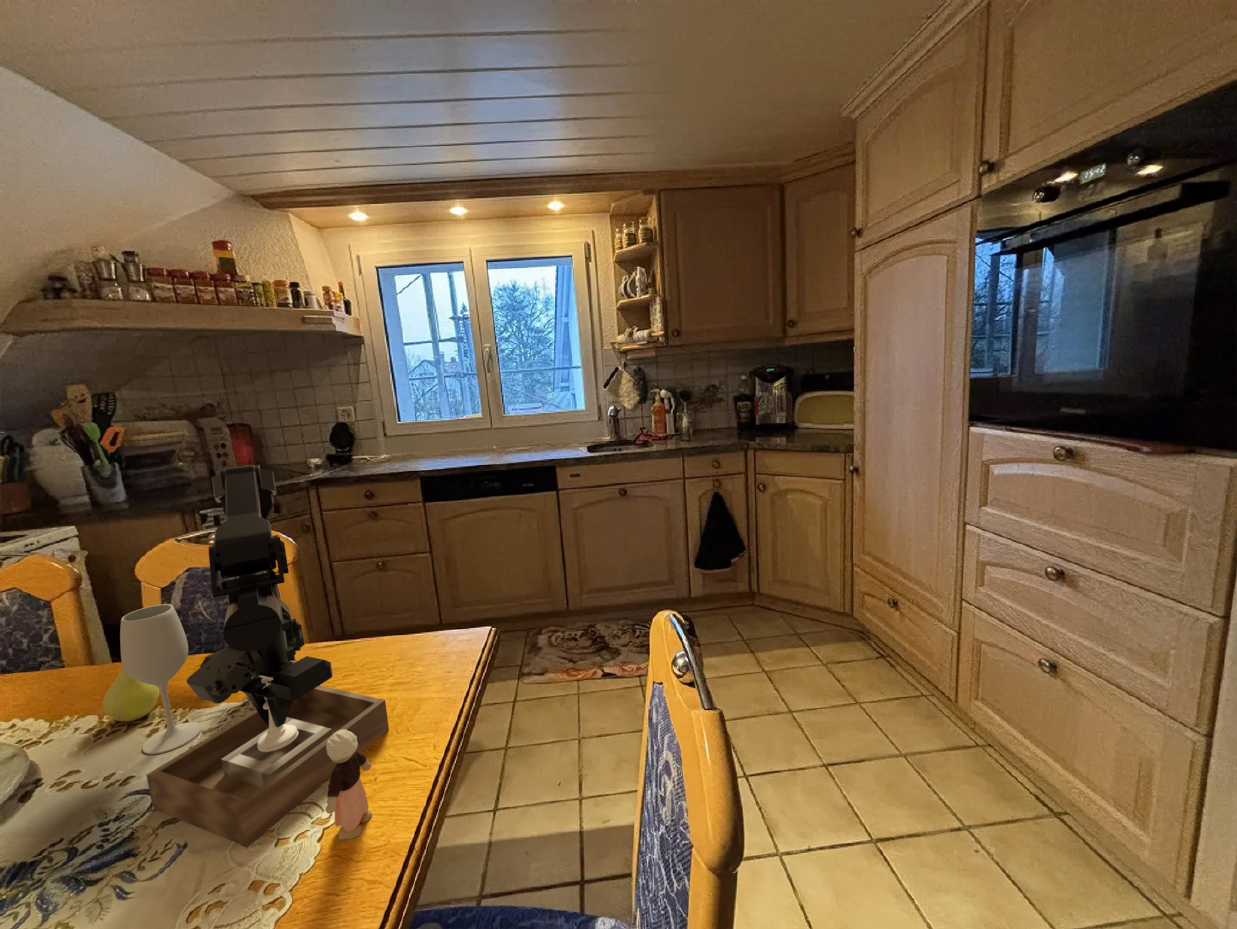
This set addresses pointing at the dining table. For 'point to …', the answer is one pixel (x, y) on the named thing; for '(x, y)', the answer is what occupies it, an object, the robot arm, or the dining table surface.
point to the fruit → (129, 698)
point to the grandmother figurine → (347, 785)
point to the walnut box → (262, 765)
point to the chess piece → (276, 733)
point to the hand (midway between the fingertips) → (275, 724)
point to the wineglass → (157, 665)
